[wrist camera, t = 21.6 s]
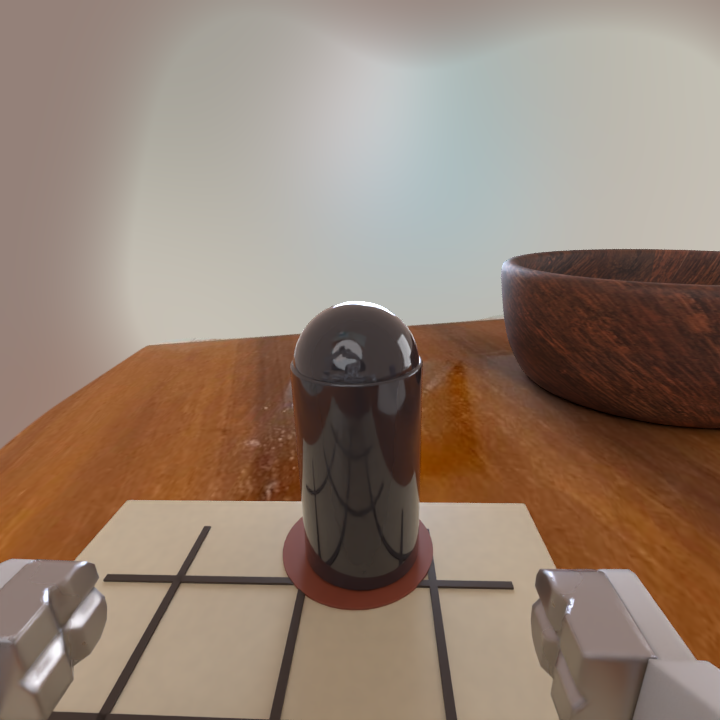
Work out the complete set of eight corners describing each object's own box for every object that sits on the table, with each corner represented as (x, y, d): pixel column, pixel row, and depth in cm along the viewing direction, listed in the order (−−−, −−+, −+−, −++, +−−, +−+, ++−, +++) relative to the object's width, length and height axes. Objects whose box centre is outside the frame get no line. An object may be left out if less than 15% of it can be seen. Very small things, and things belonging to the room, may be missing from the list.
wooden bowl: (560, 328, 55) (570, 245, 52) (847, 377, 38) (892, 256, 34) (440, 381, 39) (444, 266, 36) (841, 508, 22) (923, 308, 18)
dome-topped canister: (295, 590, 16) (269, 320, 13) (314, 507, 21) (299, 291, 17) (423, 593, 16) (431, 317, 13) (414, 509, 21) (418, 289, 17)
